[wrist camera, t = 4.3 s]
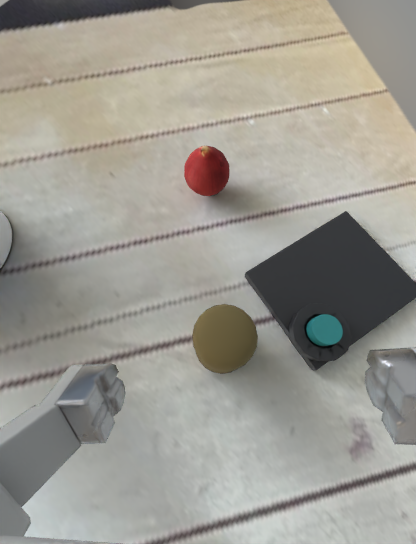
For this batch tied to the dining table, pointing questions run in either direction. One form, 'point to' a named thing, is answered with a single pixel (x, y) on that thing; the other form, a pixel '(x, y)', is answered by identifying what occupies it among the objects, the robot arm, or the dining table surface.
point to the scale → (331, 286)
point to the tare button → (324, 330)
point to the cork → (224, 338)
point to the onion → (206, 171)
